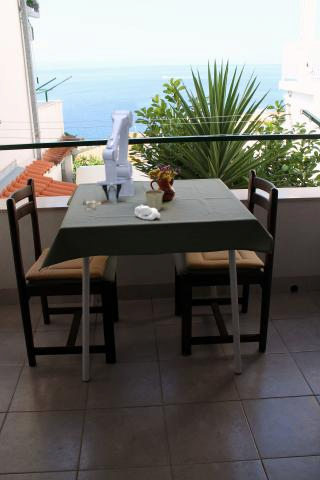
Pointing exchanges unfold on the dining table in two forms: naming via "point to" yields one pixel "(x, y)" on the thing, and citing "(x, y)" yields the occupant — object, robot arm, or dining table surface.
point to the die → (90, 205)
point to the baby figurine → (146, 212)
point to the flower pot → (154, 198)
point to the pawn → (112, 195)
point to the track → (98, 202)
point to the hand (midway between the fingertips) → (112, 199)
